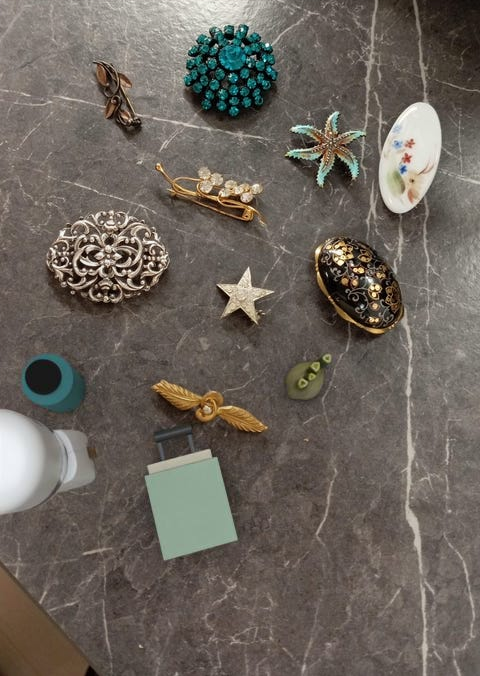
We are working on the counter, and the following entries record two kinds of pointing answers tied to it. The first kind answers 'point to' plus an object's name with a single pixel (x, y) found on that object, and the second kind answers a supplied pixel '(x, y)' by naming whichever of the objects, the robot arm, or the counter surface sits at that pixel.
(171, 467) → the drawer
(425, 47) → the counter surface
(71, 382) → the beverage bottle
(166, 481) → the green drawer cabinet
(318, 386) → the fennel bulb
